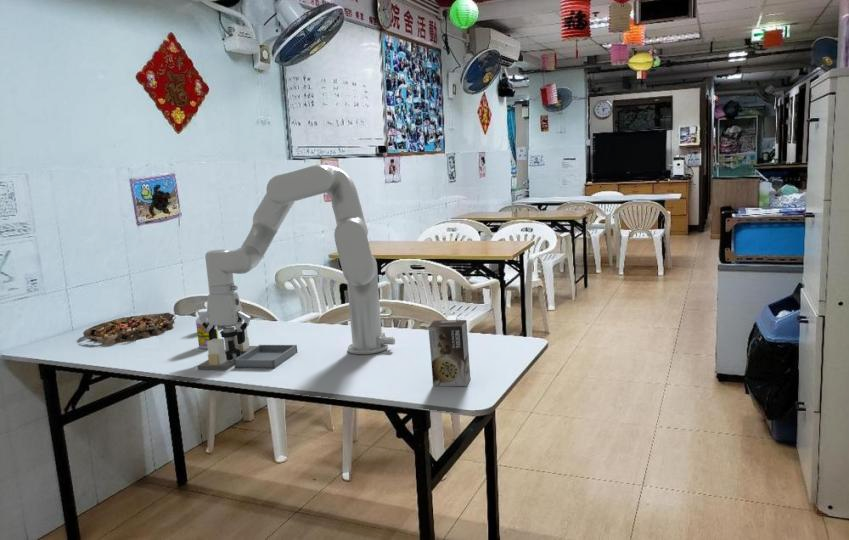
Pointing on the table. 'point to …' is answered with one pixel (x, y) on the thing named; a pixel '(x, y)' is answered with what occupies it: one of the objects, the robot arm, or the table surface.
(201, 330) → the supplement bottle
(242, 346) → the block
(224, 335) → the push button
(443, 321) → the printed cardboard box
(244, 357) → the tray
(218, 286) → the robot arm
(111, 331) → the food dish
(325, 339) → the table surface
